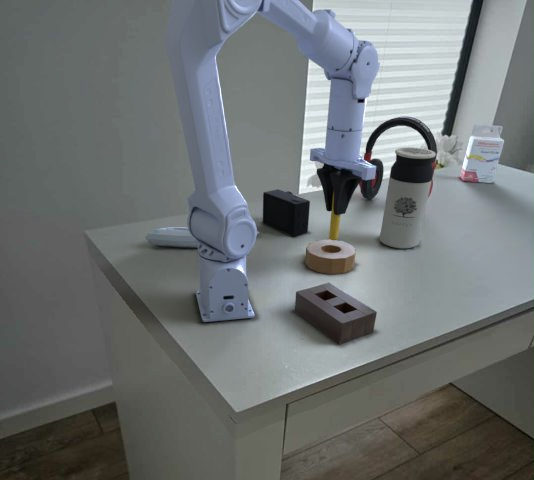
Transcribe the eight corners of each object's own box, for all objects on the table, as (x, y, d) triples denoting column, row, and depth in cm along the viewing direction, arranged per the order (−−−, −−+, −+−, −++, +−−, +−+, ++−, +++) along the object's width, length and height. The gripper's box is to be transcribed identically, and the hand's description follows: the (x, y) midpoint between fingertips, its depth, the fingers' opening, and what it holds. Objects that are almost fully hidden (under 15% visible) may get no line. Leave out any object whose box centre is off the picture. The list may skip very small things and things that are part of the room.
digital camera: (312, 231, 107) (314, 199, 103) (293, 237, 104) (295, 204, 100) (280, 218, 113) (282, 187, 109) (262, 223, 110) (263, 191, 106)
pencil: (338, 240, 88) (345, 183, 83) (330, 240, 88) (336, 183, 83) (335, 236, 90) (341, 180, 84) (327, 237, 89) (333, 181, 84)
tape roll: (360, 272, 90) (362, 256, 88) (313, 275, 88) (315, 260, 87) (343, 252, 97) (345, 238, 96) (299, 255, 96) (300, 241, 94)
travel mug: (386, 232, 107) (401, 145, 97) (422, 240, 104) (442, 150, 94) (373, 243, 102) (388, 152, 92) (411, 252, 98) (430, 158, 88)
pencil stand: (339, 344, 70) (342, 323, 68) (294, 311, 77) (295, 291, 75) (373, 332, 73) (377, 311, 71) (326, 301, 80) (328, 282, 78)
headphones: (431, 204, 125) (450, 118, 114) (419, 215, 118) (437, 124, 107) (367, 192, 132) (378, 110, 121) (351, 201, 125) (362, 115, 114)
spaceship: (148, 254, 94) (145, 231, 92) (145, 242, 99) (142, 220, 97) (264, 243, 100) (265, 222, 98) (256, 232, 105) (256, 212, 103)
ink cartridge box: (463, 181, 144) (476, 127, 136) (459, 177, 148) (472, 124, 140) (493, 183, 143) (508, 128, 135) (489, 178, 147) (503, 125, 139)
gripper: (395, 134, 75) (381, 220, 83) (335, 119, 85) (327, 197, 93) (360, 138, 72) (349, 227, 80) (302, 122, 82) (297, 203, 90)
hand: (335, 212), depth 86 cm, fingers closed on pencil, 1 cm apart
